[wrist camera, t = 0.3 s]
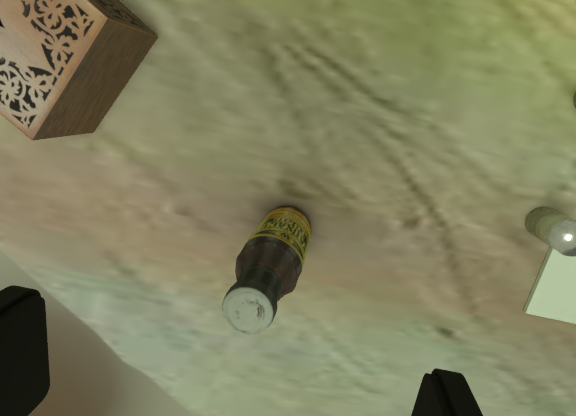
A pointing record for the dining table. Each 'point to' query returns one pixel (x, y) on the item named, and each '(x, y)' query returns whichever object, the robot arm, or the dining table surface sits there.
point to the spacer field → (553, 228)
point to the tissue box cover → (66, 62)
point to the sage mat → (554, 289)
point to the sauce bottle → (267, 269)
